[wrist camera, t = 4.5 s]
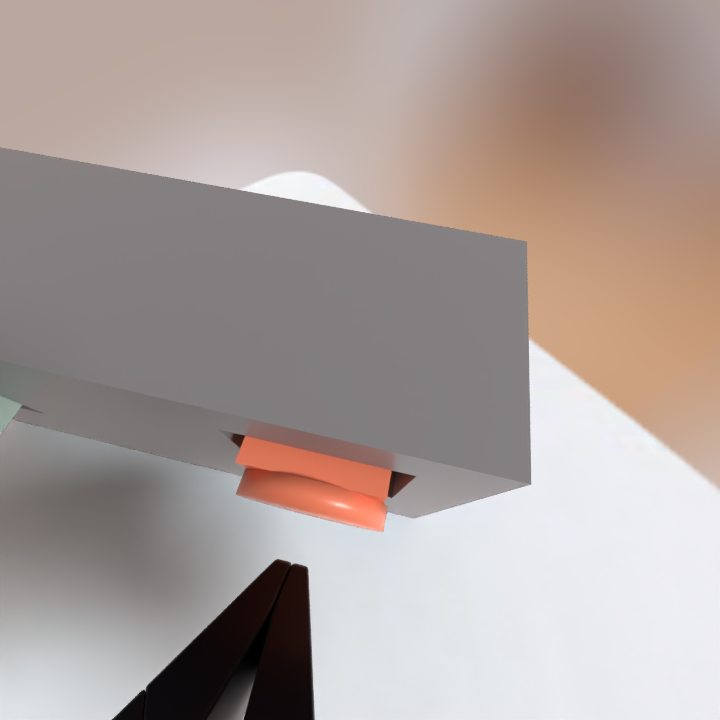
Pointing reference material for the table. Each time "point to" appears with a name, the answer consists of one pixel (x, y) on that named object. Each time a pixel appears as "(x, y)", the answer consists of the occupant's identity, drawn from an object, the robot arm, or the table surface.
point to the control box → (263, 329)
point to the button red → (314, 483)
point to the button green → (7, 411)
